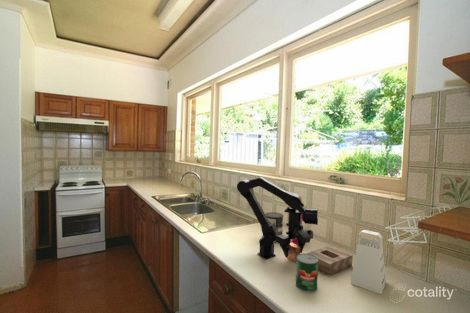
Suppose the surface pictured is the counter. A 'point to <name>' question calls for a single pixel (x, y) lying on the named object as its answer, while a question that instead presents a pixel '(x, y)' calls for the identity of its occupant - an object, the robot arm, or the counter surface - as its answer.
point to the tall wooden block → (293, 252)
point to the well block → (332, 260)
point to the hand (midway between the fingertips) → (293, 255)
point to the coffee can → (276, 221)
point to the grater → (369, 264)
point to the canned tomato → (307, 272)
